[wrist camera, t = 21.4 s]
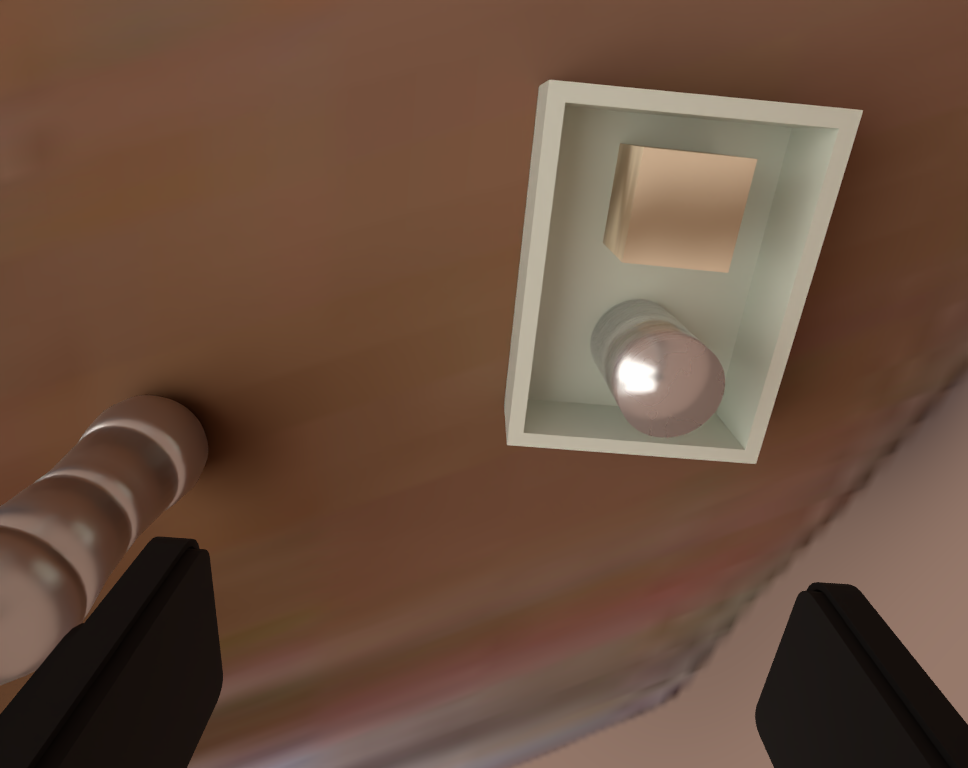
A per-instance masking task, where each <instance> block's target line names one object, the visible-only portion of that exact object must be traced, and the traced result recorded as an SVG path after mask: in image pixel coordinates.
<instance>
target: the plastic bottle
mask: <svg viewBox="0 0 968 768" xmlns="http://www.w3.org/2000/svg"><path fill="white" fill-rule="evenodd" d="M207 458H208V441H207V438H206V435H205V432H204V429H203V427H202V425H201V423H200V422H199V420H198V419H197V418H196V416H195V415H194V414H193V413H192V412H191V411H190V410H189V409H188V408H186V407H185V406H183V405H182V404H180V403H178V402H176V401H174V400H171V399H168V398H164V397H160V396H156V395H140V396H135V397H132V398H129V399H126V400H124V401H122V402H119V403H117V404H115V405H113V406H111V407H109V408H108V409H106V410H105V411H103V412H102V413H101V414H100V415H99V416H98V417H97V419H96V420H95V421H94V422H93V423H92V424H91V425H90V426H89V428H88V429H87V430H86V431H85V433H84V434H83V436H82V437H81V438H80V440H79V442H78V443H77V444H76V445H75V446H74V447H73V448H72V449H71V450H70V451H69V452H68V453H67V454H66V455H65V456H64V457H63V458H62V459H61V460H60V461H59V463H58V464H57V465H56V466H55V467H54V468H53V469H52V470H51V471H49V472H48V473H47V474H45V475H44V476H42V477H41V478H40V479H38V480H37V481H36V482H35V483H34V484H32V485H30V486H29V487H27V488H26V489H24V490H23V491H22V492H20V493H19V494H17V495H16V496H15V497H13V498H12V499H11V500H9V501H8V502H6V503H5V504H3V505H2V506H0V685H3V684H5V683H8V682H10V681H13V680H15V679H18V678H21V677H23V676H26V675H28V674H30V673H32V672H34V671H36V670H37V669H38V668H39V667H40V665H41V664H42V663H43V662H44V660H45V659H46V658H47V657H48V655H49V654H50V653H51V652H52V651H53V649H54V648H55V647H56V646H57V644H58V643H59V642H60V641H61V640H62V638H63V637H64V636H65V635H66V634H67V633H68V632H69V631H70V630H71V629H72V628H74V627H75V626H77V625H79V624H81V623H83V620H84V618H85V617H86V615H87V614H88V612H89V610H90V608H91V607H92V605H93V603H94V601H95V600H96V598H97V596H98V594H99V593H100V591H101V589H102V588H103V586H104V584H105V582H106V581H107V579H108V577H109V576H110V574H111V573H112V571H113V570H114V569H115V567H116V566H117V565H118V563H119V562H120V560H121V559H122V558H123V556H124V555H125V553H126V552H127V551H128V549H129V548H130V547H131V545H132V544H133V542H134V541H135V540H136V539H137V538H138V537H139V536H140V535H141V534H142V533H143V532H144V531H145V530H146V529H147V528H148V527H149V526H150V525H151V524H152V523H153V522H154V521H155V520H156V519H157V518H158V517H159V516H160V515H161V514H162V513H163V512H164V511H165V510H167V509H168V508H170V507H171V506H172V505H174V504H175V503H176V502H177V501H179V500H180V499H181V498H182V497H183V496H184V495H185V494H186V493H187V492H189V491H190V490H191V489H192V488H193V487H194V486H195V484H196V483H197V481H198V480H199V478H200V475H201V473H202V471H203V469H204V466H205V464H206V461H207Z"/></svg>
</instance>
